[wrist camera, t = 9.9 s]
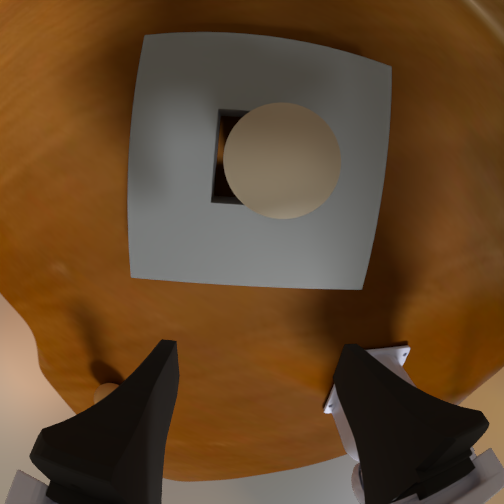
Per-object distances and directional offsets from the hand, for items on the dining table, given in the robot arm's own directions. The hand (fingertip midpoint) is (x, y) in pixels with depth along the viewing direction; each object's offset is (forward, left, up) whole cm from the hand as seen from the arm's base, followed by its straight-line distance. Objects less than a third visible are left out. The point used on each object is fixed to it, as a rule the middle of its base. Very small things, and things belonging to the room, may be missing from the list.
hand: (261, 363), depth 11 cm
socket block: (+8, 0, -10) cm, 13 cm away
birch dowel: (+8, 0, -10) cm, 13 cm away
